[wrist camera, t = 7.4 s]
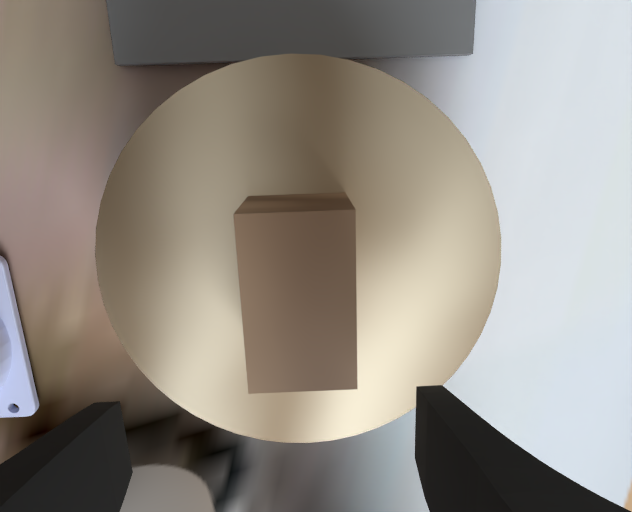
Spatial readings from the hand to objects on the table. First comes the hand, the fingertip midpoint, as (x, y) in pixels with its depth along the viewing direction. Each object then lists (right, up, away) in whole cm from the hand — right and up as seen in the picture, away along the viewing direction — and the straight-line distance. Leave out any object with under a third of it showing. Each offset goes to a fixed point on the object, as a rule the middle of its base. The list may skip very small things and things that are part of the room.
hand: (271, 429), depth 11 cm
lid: (+1, +4, +4) cm, 6 cm away
